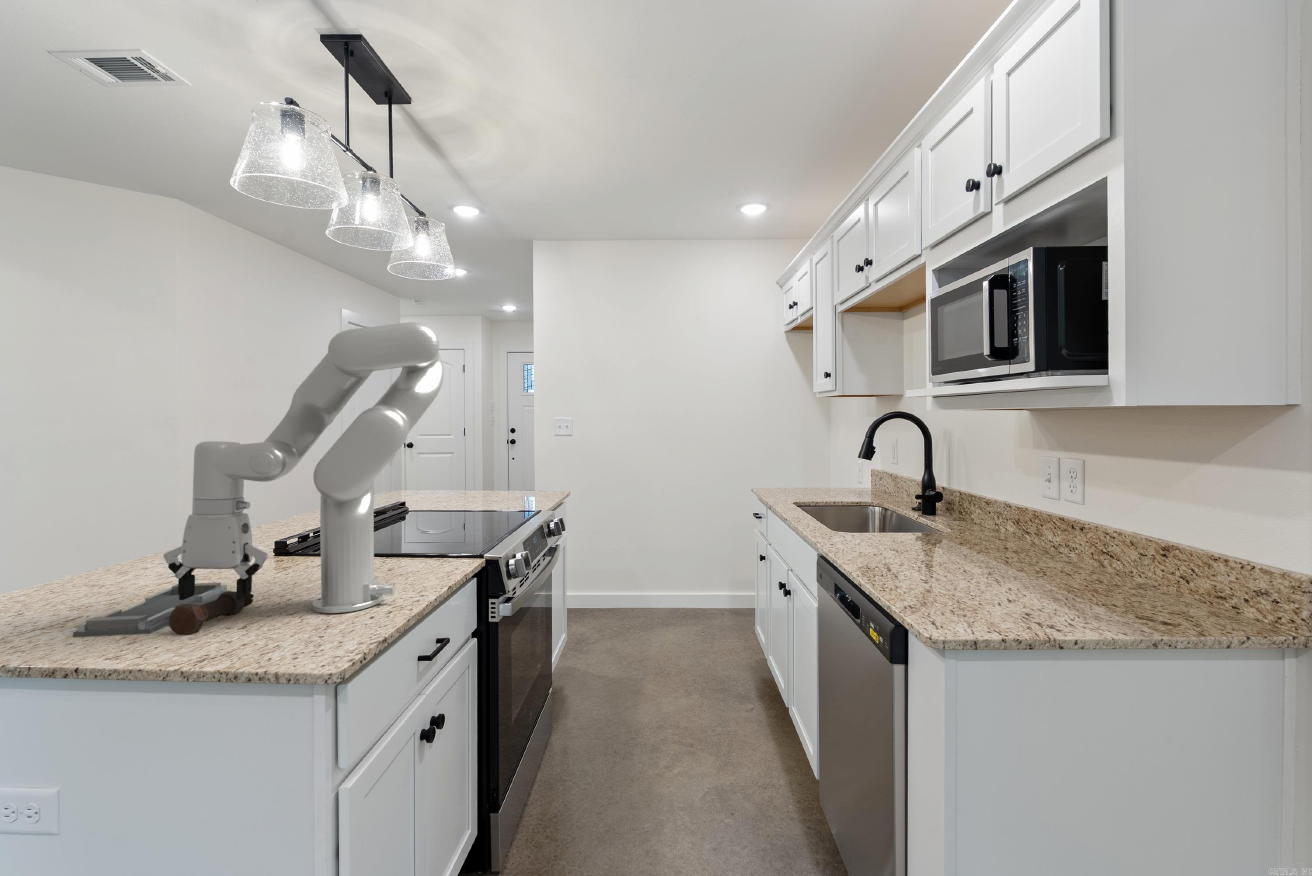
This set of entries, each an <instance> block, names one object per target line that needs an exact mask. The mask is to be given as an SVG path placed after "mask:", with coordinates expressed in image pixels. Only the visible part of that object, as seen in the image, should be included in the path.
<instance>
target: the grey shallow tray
mask: <svg viewBox="0 0 1312 876" xmlns="http://www.w3.org/2000/svg"><path fill="white" fill-rule="evenodd" d="M221 583H222V582H204V583H203V582H201V583H200V582H199V583H196V582H195V594H201V595H199V596H197V602H203V601H205V600H208V599H210V598H212V597H214V596H216V595H218V594H220V593H222V592H224V591H227V590H228V584H221ZM171 595H179V594H178V584H175V585H172V586H171V587H170V588H167V589H164V590H162V591H159V592H158V593H155V594H152V595H150V596H147V597H145V598H144V603H145V604H152V603H154V602H157V601H159V600H161V599H164V598H166V597H168V596H171ZM174 609H175V608H170V609H168V610H165V611H163V612H161V613H159V614H157V615H154V616H152V617H150V618H148V617H147V615H141V616H122V612H123V609H115V610H113V611H110V612H107V613H105V614H103V615H99V616H97V617H96V616H95V617H92V618H90V619H87V620H85V622H83V623H80V624H77V630H78V632H85V631H103V630H126V629H146V628H149V627H151V626H153V625H155V624H157V623H159V622H161V621H163V620H165V619H167V618H169V617H170V614H171V613H172V611H173V610H174Z"/></svg>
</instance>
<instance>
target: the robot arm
mask: <svg viewBox="0 0 1312 876" xmlns="http://www.w3.org/2000/svg"><path fill="white" fill-rule="evenodd" d="M439 349H440V341H439V338H438V335H437V333H436V332H435V331H434V330H433V329H432V328H431V327H429V326H428V325H426V324H424V323H422V322H416V321H411V322H410V321H408V322H407V321H406V322H401V323H400V322H399V323H393V324H385V325H383V324H382V325H376V326H367V327H360V328H359V327H357V328H351V329H346V330H341V331H340V332H337V333H336V334H334V336H333V337H332V338H331V339H330V341H329V343H328V347H327V353H326V354H325V355H324V357H323V358H322V359H321V360H320V361H319V363H318V364H317V365H316V366H315V367H314V369H313V370H311V372H310V373H309V374H308V376H306V378H305V379H304V380H303V381H302V382H301V383H300V384H299V386H298V387H297V388H296V390H295V392H294V393H293V396H292V399H291V403H290V406H289V409H288V410H287V412H286V413H285V415H284V417H283V418H282V419H281V420H280V422H279V423H278V425H277V426H276V427H275V428H274V429H273V431H272V432H271V433H270V434H269V436H267V438H266V439H265V440H264V441H262V442H254V443H240V442H236V441H217V440H215V441H212V440H211V441H208V440H207V441H201V442H199V443H197V444H196V446H195V447H194V451H193V473H192V475H193V480H192V482H193V483H192V504H191V505H192V509H191V514H188V517H187V520H186V524H185V527H184V531H183V535H182V543H181V546H178V547H176V548H174V549H172V550H169V551H167V552H165V553H164V554H163V559H164V560H165V562H166V564H167V565H168V566H167V567H168V569H169V570H170V571H171V572H172V573H173V574H174V577H175V578H176V579H178V581H177V583H178V594H179V600H185V599H187V598H189V597H192V596H194V594H195V583H196V576H195V574H192V573H193V572H195V570H216V569H217V570H223V569H224V570H232V569H233V570H234V572H235V573H236V574H237V575H238V576H239V578H238V579H236V599H237V600H242V599H244V598H246V597H248V596H249V595H250V593H251V594H252V590H253V589H252V588H253V585H252V584H253V576H255V575H256V573H257V572H258V571H260V569H261V568H263V565H264V564H265V562H266V561H267V559H268V556H269V554H268V552H265V551H263V550H261V549H259V548H257V547H255V546H253V534H252V527H251V523H250V522H251V521H250V518H249V515H248V514H249V513H246V512H245V513H244V510H245V509H246V510H248V509H249V508H250V507H251V502H250V501H246V500H245V497H244V486H245V481H251V482H260V483H261V482H262V483H266V482H273V481H275V480H279V479H280V478H281V477H285V476H286V475H288V474H289V473H291V471H293V470H294V469H295V468H296V466H297V465H299V463H300V462H301V460H302V459H303V458H304V456H306V454H307V453H308V452H309V451H310V449H311V448H312V447H313V446H314V445H315V444H316V442H317V441H318V439H319V438H320V437H321V435H323V433H324V432H325V430H327V428H328V427H329V426H330V425H332V423H333V422H334V421H335V419H336V417H337V416H338V415H339V414H340V413H341V412H342V410H343V409H344V407H345V406H346V405H347V403H348V402H349V401H350V400H351V399H352V398H353V396H354V395H355V394H356V393H357V392H358V390H359V389H360V388H361V387H362V385H364V383H366V381H367V379H368V378H369V377H370V376H371V375H372V373H373V372H376V371H385V370H391V369H399V368H401V370H400V374H399V375H398V377H397V378H396V379H395V380H394V382H393V383H392V384H390V386H389V387H388V389H387V390H386V392H385V393H383V395H382V396H381V397H380V398H379V399H378V401H377V402H375V404H374V405H373V406H372V407H370V408H367V409H365V410H364V411H362V412H361V413H360V414H359V415H358V416H357V417H356V418H355V419H354V420H353V422H351V423H350V425H349V426H348V427H347V428H346V430H345V431H344V432H343V433H342V434H341V435H340V436H339V438H338V439H337V440H336V441H335V442H334V444H332V446H331V447H330V448H329V449H328V450H327V452H326V453H325V454H324V455H323V456H322V457H321V459H319V461H318V462H317V464H316V466H315V467H314V470H313V483H314V486H315V489H316V490H317V491H318V493H319V494H320V505H319V507H320V509H319V510H320V511H319V512H320V519H319V522H320V523H319V525H320V530H319V532H320V533H319V534H320V538H319V540H320V581H321V582H320V584H321V587H320V588H321V596H320V597H317V598H316V599H314V600H313V602H312V610H313V611H315V612H317V613H323V614H343V613H350V612H355V611H360V610H365V609H369V608H371V607H374V606H376V605H378V604H380V603H381V601H383V599H384V596H388V595H389V596H391V595H392V596H393V595H395V593H396V585H395V584H394V583H393V582H391V583H390V582H388V583H381V582H380V577H379V576H375V550H374V549H375V548H374V546H375V545H374V544H375V541H374V539H375V538H374V537H375V536H374V535H375V533H374V526H375V523H374V522H375V521H374V519H375V518H374V517H375V515H374V508H375V507H374V502H375V501H374V499H375V498H374V491H375V488H374V487H375V480H376V478H377V477H378V476H379V474H380V473H381V472H382V471H383V470H384V469H385V468H386V466H387V465H388V464H389V463H390V461H392V458H394V456H395V455H396V454H397V453H398V452H399V450H400V449H401V448H402V446H404V443H406V441H407V437H408V435H409V433H410V431H412V430H413V427H415V425H416V424H417V423H418V422H419V421H420V419H421V418H422V416H424V414H425V413H426V411H427V410H428V409H429V407H430V406H431V405H432V403H433V402H434V401H435V399H436V398H437V397H438V394H439V392H440V390H441V388H442V384H443V381H444V364H443V361H442V358H441V355H440V352H439V351H440V350H439ZM179 555H181V556H180V557H181V559H180V560H181V561H180V560H179V558H178V557H179ZM253 558H254V562H253V563H252V564H250V563H251V561H252V560H253Z"/></svg>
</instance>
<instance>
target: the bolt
mask: <svg viewBox="0 0 1312 876" xmlns="http://www.w3.org/2000/svg"><path fill="white" fill-rule="evenodd" d="M254 597H255V596H254V593H253V594H252V592H251V593H250V595H249V596H248V597H246V598H244V599H242V600H237V599H236V591H232V590H231V591H230V592H224V593H221V595H220V596H219V597H218V598H217V600H214V601H211V602H208V603H205V604H203V605H200V606H199V605H198V604H181V605H178V606H176V607H175V609H174V610H173V611H172V613H171V614H170V617H169V624H168V626H169V627H170V629H171V631H172V632H173V633H174V634H175V635H178V636H189V635H190V636H191V635H195V634H197V633H199V632H200V630H201V629H202V626H203V625H204V624H205V623H207V622H210V621H211V620H214V619H217V618H220V617H231V616H232V617H234V616H237V615H238V614H240V613H241V611H242V610H243V609H244V608H246V607H248V606H250V605H251V604H253V602H254Z"/></svg>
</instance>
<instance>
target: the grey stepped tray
mask: <svg viewBox="0 0 1312 876" xmlns="http://www.w3.org/2000/svg"><path fill="white" fill-rule="evenodd" d="M230 591H232V590H228V589H227V591H224V592H230ZM224 592H222V593H224ZM199 595H201V594H194V596H192V597H189V598H187V599H185V600H179V595H171V596H168V597H166V598H164V599H161V600H159V601H157V602H154V603H152V604H145V602H143V603H139V605H136V606H133V607H131V608H128V609H126V610H124V611H123V610H122V616H141V615H147V617H148V618H150V617H152V616H154V615H157V614H159V613H161V612H163V611H165V610H168V609H170V608H175V607H176V606H178V605H181V604H198V605H199V606H200V605H203V604H205V603H208V602H211V601H214V600H217V598H218V597H219V596H220V595H221V593H220V594H218V595H216V596H214V597H212V598H210V599H208V600H205V601H203V602H197V596H199ZM166 626H169V618H167V619H165V620H163V621H161V622H159V623H157V624H155V625H153V626H151V627H149V628H146V629H126V630H103V631H85V632H78V629H77V630H75V631H73V632H72V637H73V638H80V637H99V636H102V637H103V636H122V635H125V636H126V635H143V634H144V635H146V634H152V633H155V632H156V631H158V630H160V629H162V628H164V627H166Z"/></svg>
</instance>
